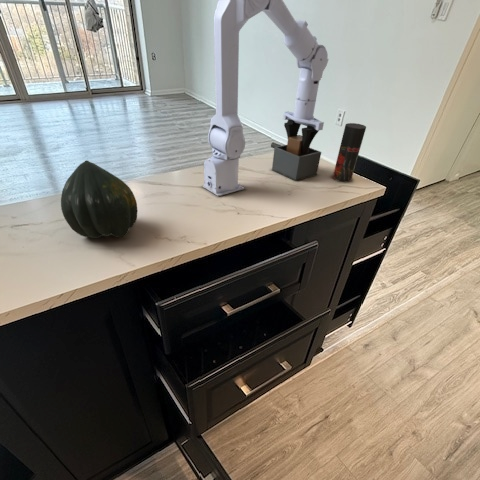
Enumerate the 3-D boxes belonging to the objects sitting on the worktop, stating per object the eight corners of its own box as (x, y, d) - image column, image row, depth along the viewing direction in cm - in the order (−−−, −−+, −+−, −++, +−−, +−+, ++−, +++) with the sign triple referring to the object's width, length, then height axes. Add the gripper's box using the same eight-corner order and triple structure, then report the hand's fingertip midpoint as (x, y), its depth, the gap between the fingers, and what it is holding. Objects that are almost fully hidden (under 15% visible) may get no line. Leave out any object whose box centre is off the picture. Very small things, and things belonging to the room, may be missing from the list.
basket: (295, 181, 100) (299, 157, 95) (259, 164, 109) (261, 142, 104) (316, 174, 104) (321, 151, 99) (280, 159, 113) (283, 137, 109)
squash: (111, 234, 61) (119, 155, 60) (40, 227, 63) (47, 150, 62) (143, 248, 75) (149, 184, 74) (84, 242, 77) (90, 180, 76)
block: (297, 158, 99) (300, 141, 95) (285, 154, 101) (288, 136, 98) (307, 156, 101) (311, 138, 98) (296, 151, 104) (299, 134, 100)
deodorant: (353, 182, 101) (368, 129, 91) (334, 181, 101) (348, 127, 91) (348, 175, 105) (363, 123, 95) (331, 174, 105) (343, 122, 95)
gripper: (334, 102, 89) (323, 155, 98) (297, 93, 97) (290, 142, 106) (318, 105, 85) (308, 159, 95) (280, 95, 93) (274, 145, 103)
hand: (297, 150), depth 100 cm, fingers closed on block, 5 cm apart
